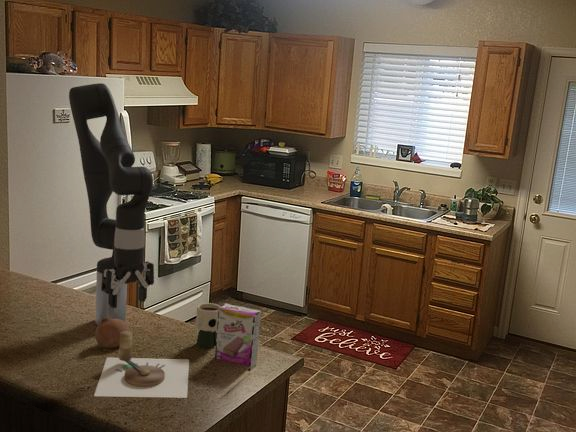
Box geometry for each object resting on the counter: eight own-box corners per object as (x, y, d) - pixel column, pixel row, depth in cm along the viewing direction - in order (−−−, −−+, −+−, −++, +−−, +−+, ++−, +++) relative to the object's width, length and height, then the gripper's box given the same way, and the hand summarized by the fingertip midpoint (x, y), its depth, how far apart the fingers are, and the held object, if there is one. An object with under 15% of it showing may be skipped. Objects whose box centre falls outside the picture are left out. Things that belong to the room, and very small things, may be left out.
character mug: (203, 358, 182) (206, 314, 180) (185, 350, 186) (187, 308, 184) (227, 346, 191) (230, 305, 189) (209, 340, 195) (211, 299, 193)
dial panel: (106, 362, 174) (107, 356, 174) (188, 364, 177) (189, 358, 177) (93, 401, 153) (93, 395, 153) (186, 403, 156) (187, 396, 156)
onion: (98, 357, 184) (84, 325, 183) (125, 341, 190) (112, 310, 189) (112, 357, 177) (97, 324, 176) (140, 340, 183) (126, 309, 182)
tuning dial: (172, 380, 164) (173, 349, 162) (137, 390, 157) (138, 358, 155) (138, 356, 175) (139, 328, 174) (104, 365, 169) (105, 335, 167)
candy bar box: (213, 363, 180) (217, 307, 176) (221, 356, 184) (225, 302, 181) (250, 371, 176) (255, 315, 173) (257, 365, 181) (261, 309, 178)
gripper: (144, 237, 172) (142, 295, 175) (96, 244, 162) (95, 305, 165) (161, 244, 167) (158, 303, 170) (112, 251, 157) (111, 314, 160)
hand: (127, 304), depth 168 cm, fingers open, 8 cm apart
